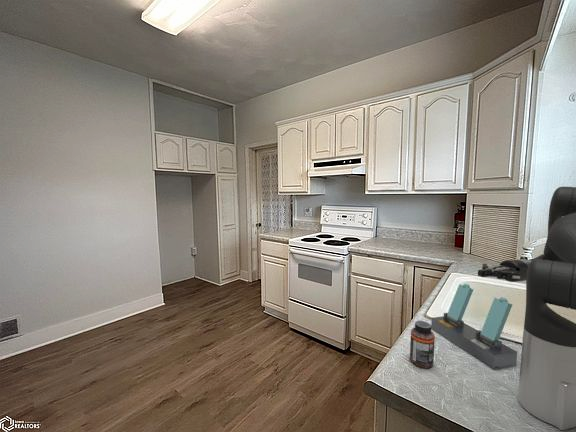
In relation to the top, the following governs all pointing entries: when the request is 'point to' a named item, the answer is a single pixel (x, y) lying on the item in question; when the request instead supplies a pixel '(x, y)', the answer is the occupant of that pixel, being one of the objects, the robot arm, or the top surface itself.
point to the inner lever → (495, 320)
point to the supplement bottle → (422, 345)
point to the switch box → (475, 343)
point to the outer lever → (459, 303)
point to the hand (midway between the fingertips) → (479, 273)
